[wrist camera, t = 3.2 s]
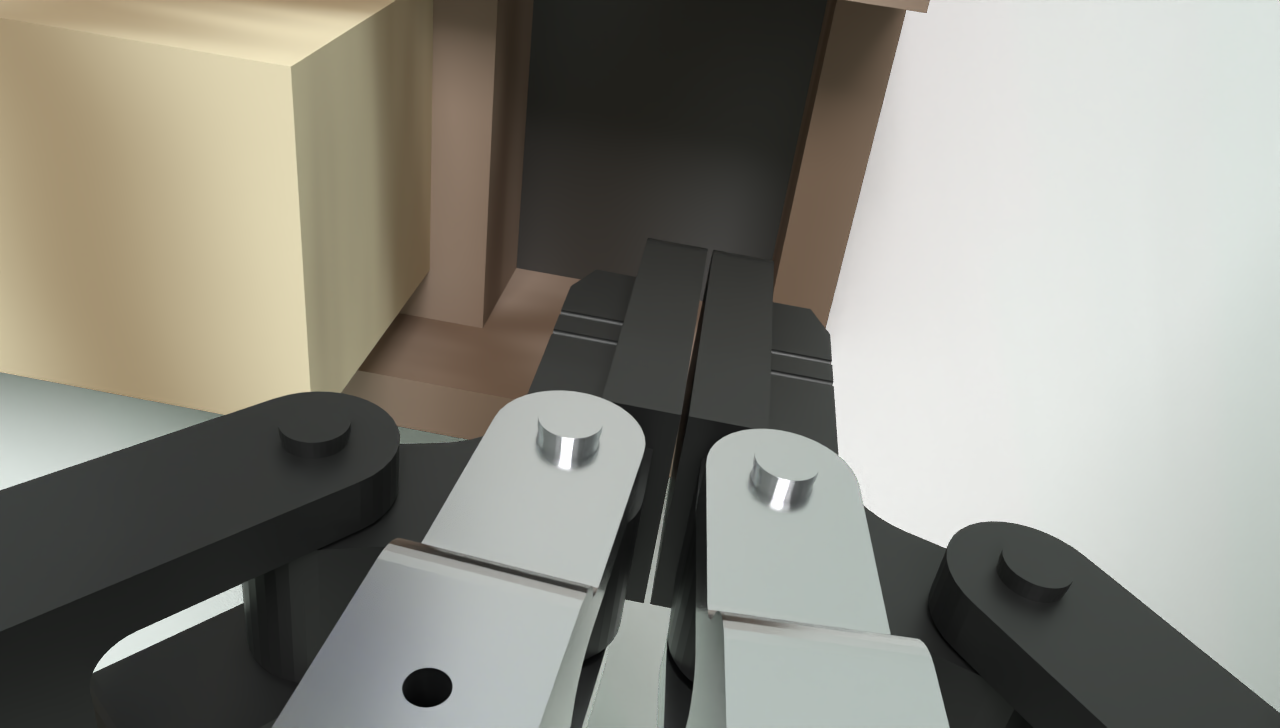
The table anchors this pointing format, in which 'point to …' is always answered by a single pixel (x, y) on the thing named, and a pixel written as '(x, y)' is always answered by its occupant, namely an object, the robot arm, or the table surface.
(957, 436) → the table surface
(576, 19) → the brown wooden long box
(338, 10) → the birch block
